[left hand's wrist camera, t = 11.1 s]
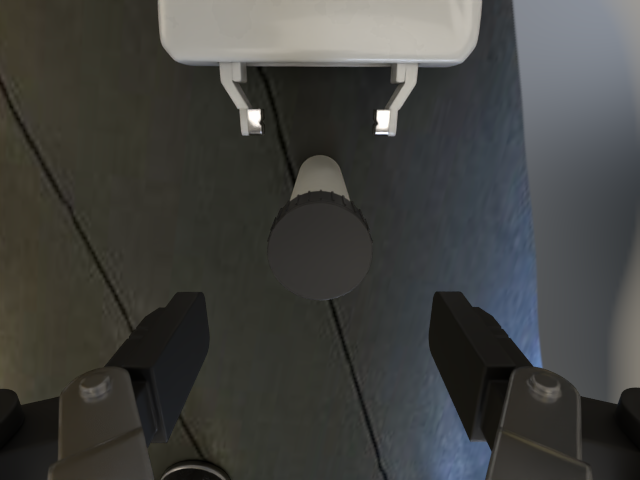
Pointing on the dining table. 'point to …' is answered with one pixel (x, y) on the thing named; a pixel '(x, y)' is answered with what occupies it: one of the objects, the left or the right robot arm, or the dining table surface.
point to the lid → (320, 246)
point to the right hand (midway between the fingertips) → (318, 135)
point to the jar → (319, 177)
